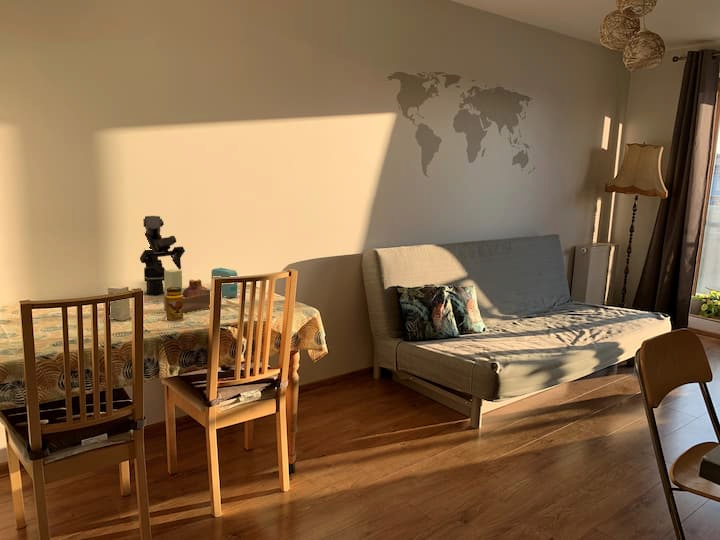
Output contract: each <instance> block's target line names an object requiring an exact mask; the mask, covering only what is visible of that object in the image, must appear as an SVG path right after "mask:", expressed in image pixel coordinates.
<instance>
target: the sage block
mask: <svg viewBox="0 0 720 540" xmlns="http://www.w3.org/2000/svg"><path fill="white" fill-rule="evenodd" d="M163 282H164V283H163V288H164V292H165V293H164V295H167V288H170V287H180V288H181V289H182V290H181V292H182V293H183V270H182V269H180V270H179V269H178V268H177V269H175V268H171V269H165V270H164V281H163ZM182 293H181V294H182Z"/></svg>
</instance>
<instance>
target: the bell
mask: <svg viewBox="0 0 720 540" xmlns="http://www.w3.org/2000/svg"><path fill="white" fill-rule="evenodd" d="M188 281H189V282H188V286H187V287H186V288H185V289H183V290H182V295H183V298H187V297H192V296H197V295H200V289H201V288H203V289H207V287H205V286H203V284H202V280H201V279H197V280H194V279H190V280H188Z"/></svg>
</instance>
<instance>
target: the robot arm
mask: <svg viewBox="0 0 720 540" xmlns="http://www.w3.org/2000/svg"><path fill="white" fill-rule="evenodd" d="M163 226H164V221H163V219H162V218H161V216H160V215H158V216H157V215H148V216H147V215H145V216H144V218H143V227H144V229H145V231H146V233H145V232H144V233H145V236H146V238H147V240H148V242H149V244H150V247H149V248H150V249H152V250H145V249H144V250H143V251H142V254H141V255H140V257H139V261H140V262H141V264H145V267H144V268H143V276H144V277H143V278H144V282H146V283H145V284H146V292H144V293H143V294H144V295H149V296H159V295H162V294H165V291H164V283H163V282H164V270H166V269H165V267H164V266H163V262H162V259H159V258H163V257H170V258H171V259H172V262H173V264H174V265H175V266H176V267H177V270H182V264H181V263H182V262H181V257H183V255H184V253H185V252H186V250H185V248H184V246H174V247H173V249H172V250H170V249H171V246H173V245H175V243H177V239H176V236H175V235H170V236H167V237H163V236H162V234H161V228H162V227H163ZM160 234H161V235H160Z"/></svg>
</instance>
